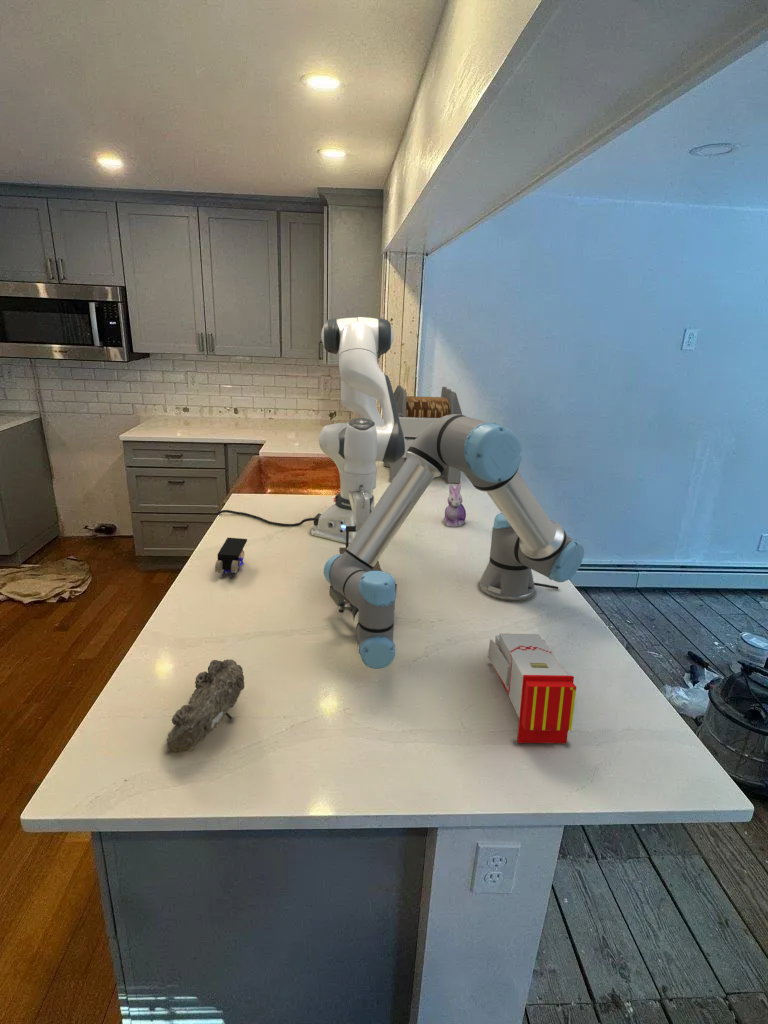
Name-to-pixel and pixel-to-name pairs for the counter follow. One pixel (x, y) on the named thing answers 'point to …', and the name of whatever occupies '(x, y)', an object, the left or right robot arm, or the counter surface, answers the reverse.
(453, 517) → the figurine
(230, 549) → the black toy vehicle
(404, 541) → the counter surface
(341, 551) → the lid
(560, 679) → the toy
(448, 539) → the counter surface
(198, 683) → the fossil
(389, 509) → the right robot arm
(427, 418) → the transformer
